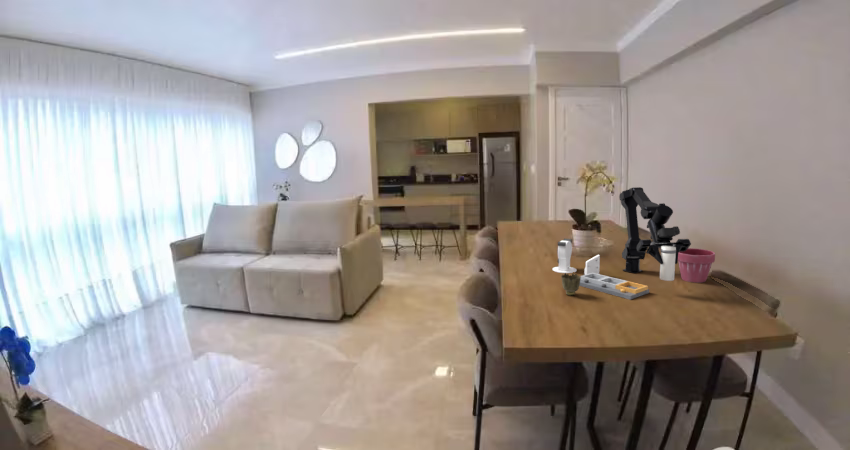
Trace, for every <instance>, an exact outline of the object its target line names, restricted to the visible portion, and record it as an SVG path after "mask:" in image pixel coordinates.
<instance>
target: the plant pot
mask: <svg viewBox="0 0 850 450" xmlns="http://www.w3.org/2000/svg"><path fill="white" fill-rule="evenodd" d="M715 261H716V252H714V251H712V250H709V249H704V248H696V247H695V248H694V247H693V248H690V247H689V248H688V249H687V250H686V251H684V252H679V253H678V263H677V264H678V267H679V273H680V277H681V280H682V281H685V282H688V283H698V284H699V283H701V284H702V283H705V282H706V281H707V279H708V276H709V274H710V271H711V268H712V264H713V263H715Z"/></svg>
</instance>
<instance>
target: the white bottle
mask: <svg viewBox="0 0 850 450" xmlns="http://www.w3.org/2000/svg"><path fill="white" fill-rule="evenodd" d="M660 255H661V258H662V260H663V264H660V263H659V265H660V266H659V280H662V281H668V282H671V281H674V280H675V273H676V271H675V269H676V264H675V257H676V247H674V246H661V248H660Z"/></svg>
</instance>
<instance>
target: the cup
mask: <svg viewBox="0 0 850 450" xmlns="http://www.w3.org/2000/svg"><path fill="white" fill-rule="evenodd" d="M581 276H582V275H578V274H577V273H571V274H570V275H569V273H563V274H561V276H560V277H561V285H562V288H563V290H565V293H566V295H568V296H575V295H576V292H577V291H578V290H579V289H580V288H579V287H580V286H579V285H580V278H581Z"/></svg>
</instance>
